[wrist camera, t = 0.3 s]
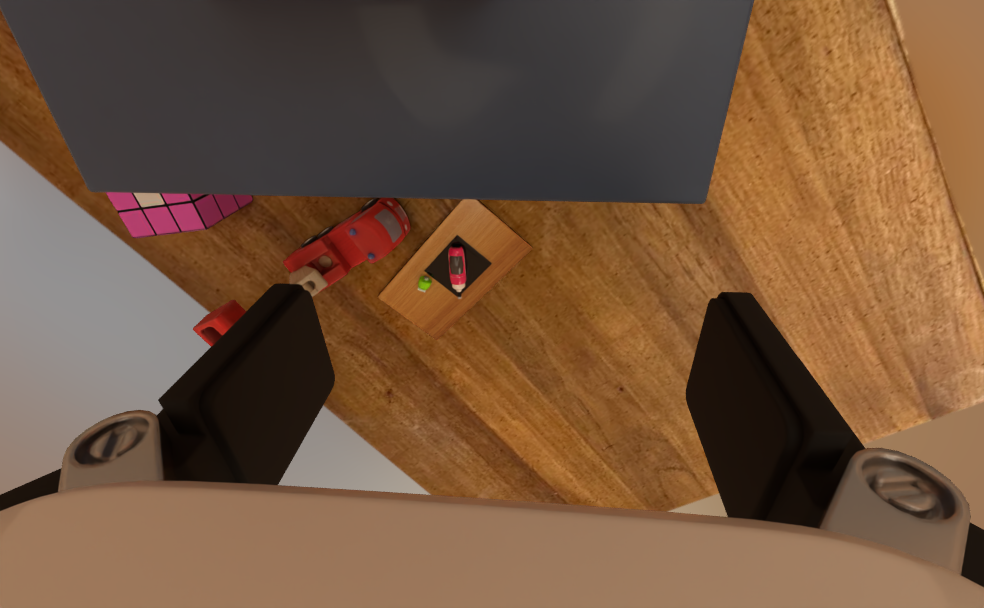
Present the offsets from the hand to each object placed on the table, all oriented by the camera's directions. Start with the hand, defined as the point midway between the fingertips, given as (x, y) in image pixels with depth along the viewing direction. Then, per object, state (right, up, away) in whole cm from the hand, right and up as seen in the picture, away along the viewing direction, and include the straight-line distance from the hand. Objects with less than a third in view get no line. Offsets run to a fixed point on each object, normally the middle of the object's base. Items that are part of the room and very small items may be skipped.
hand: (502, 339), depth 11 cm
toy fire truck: (-12, +5, +25) cm, 29 cm away
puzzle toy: (-21, +11, +23) cm, 33 cm away
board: (-3, +3, +25) cm, 26 cm away
